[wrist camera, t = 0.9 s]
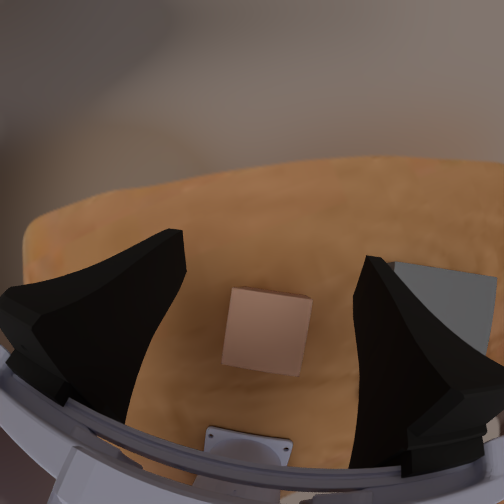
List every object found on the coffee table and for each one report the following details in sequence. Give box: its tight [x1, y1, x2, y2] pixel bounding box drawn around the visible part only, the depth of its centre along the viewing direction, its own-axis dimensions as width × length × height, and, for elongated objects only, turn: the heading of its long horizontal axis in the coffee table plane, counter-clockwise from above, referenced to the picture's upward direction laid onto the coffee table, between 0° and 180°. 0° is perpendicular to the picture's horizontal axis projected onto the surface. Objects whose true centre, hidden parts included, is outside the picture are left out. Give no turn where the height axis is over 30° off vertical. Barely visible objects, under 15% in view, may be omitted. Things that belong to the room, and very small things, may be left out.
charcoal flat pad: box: [387, 262, 497, 355], centre depth 20 cm, size 12×12×3 cm
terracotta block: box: [221, 287, 313, 377], centre depth 20 cm, size 5×5×6 cm
